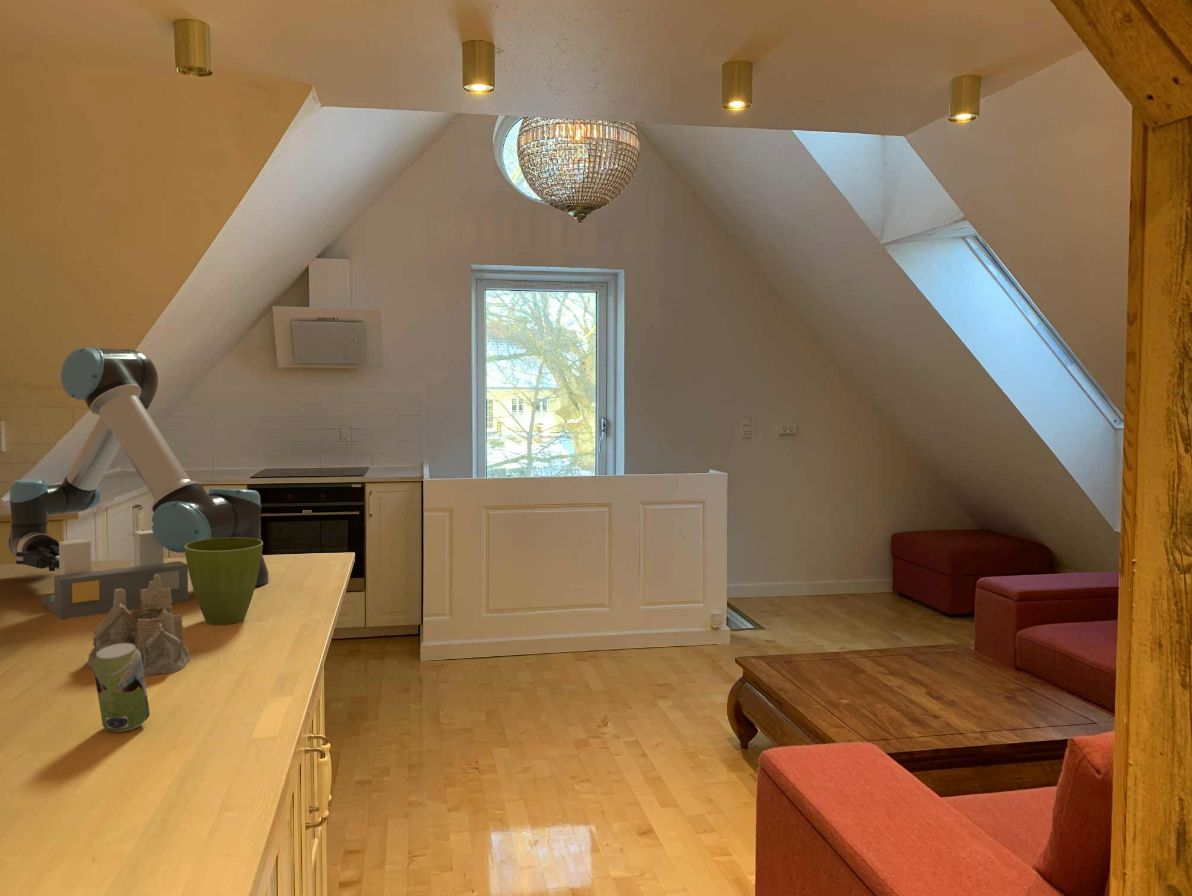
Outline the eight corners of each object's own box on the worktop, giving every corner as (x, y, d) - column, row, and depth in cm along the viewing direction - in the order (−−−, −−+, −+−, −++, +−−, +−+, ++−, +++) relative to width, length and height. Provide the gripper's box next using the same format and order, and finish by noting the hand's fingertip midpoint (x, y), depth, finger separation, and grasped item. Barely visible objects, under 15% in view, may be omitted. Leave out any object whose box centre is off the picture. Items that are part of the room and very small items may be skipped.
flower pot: (235, 633, 176) (235, 552, 175) (168, 627, 179) (167, 548, 178) (277, 614, 191) (277, 539, 189) (214, 609, 194) (214, 535, 192)
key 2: (134, 583, 205) (133, 531, 204) (157, 580, 209) (157, 529, 208) (140, 586, 202) (139, 534, 202) (163, 583, 206) (163, 531, 205)
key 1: (60, 597, 191) (58, 541, 190) (86, 594, 195) (85, 539, 194) (65, 601, 188) (63, 544, 187) (91, 597, 192) (90, 542, 191)
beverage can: (158, 719, 131) (157, 639, 130) (127, 739, 124) (125, 654, 123) (118, 717, 132) (116, 637, 131) (84, 736, 125) (82, 652, 124)
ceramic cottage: (91, 653, 161) (92, 572, 159) (191, 649, 167) (194, 570, 165) (77, 687, 146) (78, 598, 145) (187, 680, 153) (190, 595, 151)
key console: (43, 604, 194) (42, 568, 193) (165, 588, 211) (165, 554, 210) (61, 619, 183) (61, 580, 182) (188, 600, 200) (188, 565, 200)
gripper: (71, 562, 216) (100, 579, 200) (7, 569, 207) (33, 587, 190) (70, 531, 216) (100, 546, 199) (6, 537, 207) (32, 552, 190)
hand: (67, 566), depth 195 cm, fingers closed
